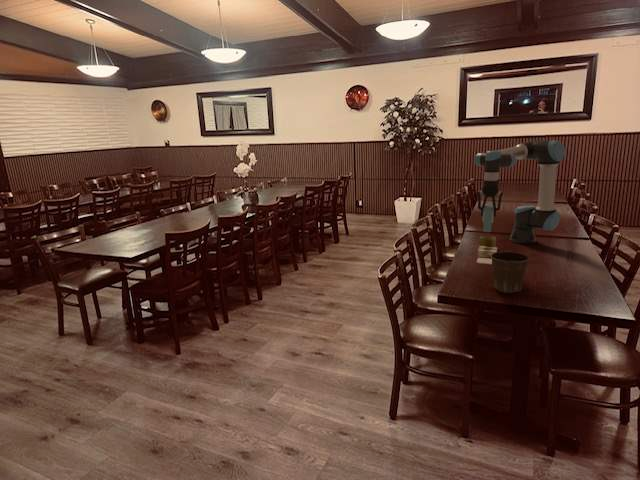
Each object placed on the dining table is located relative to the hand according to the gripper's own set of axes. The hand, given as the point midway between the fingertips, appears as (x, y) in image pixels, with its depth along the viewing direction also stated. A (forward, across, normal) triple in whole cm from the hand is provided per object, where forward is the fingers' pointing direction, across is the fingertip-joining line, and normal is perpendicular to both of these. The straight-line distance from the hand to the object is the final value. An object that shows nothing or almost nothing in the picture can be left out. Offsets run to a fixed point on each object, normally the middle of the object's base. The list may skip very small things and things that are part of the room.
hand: (487, 222), depth 232 cm
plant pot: (+23, +13, -41) cm, 49 cm away
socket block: (+22, 0, +11) cm, 25 cm away
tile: (+23, +1, -2) cm, 23 cm away
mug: (+23, 0, +24) cm, 33 cm away
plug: (+5, 0, 0) cm, 5 cm away
